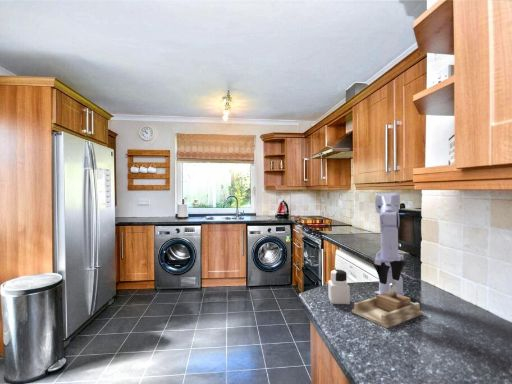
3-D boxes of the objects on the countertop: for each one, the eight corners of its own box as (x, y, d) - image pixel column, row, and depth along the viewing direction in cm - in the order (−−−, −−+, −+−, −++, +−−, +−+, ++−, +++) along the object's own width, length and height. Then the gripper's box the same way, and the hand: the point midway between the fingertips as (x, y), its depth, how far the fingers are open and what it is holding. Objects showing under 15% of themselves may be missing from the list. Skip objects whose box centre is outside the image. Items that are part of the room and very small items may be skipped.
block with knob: (389, 301, 107) (389, 279, 107) (410, 309, 100) (410, 285, 100) (376, 306, 103) (376, 282, 103) (396, 314, 96) (396, 289, 96)
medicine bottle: (345, 297, 114) (345, 268, 114) (350, 304, 107) (349, 273, 107) (328, 297, 115) (328, 268, 115) (331, 304, 108) (331, 273, 108)
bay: (386, 300, 110) (386, 292, 110) (422, 314, 98) (422, 304, 98) (351, 312, 100) (351, 302, 100) (387, 328, 88) (386, 317, 88)
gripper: (387, 248, 95) (387, 288, 95) (411, 244, 102) (411, 281, 102) (369, 245, 101) (369, 282, 101) (393, 241, 109) (393, 276, 109)
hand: (389, 281), depth 102 cm, fingers open, 7 cm apart
